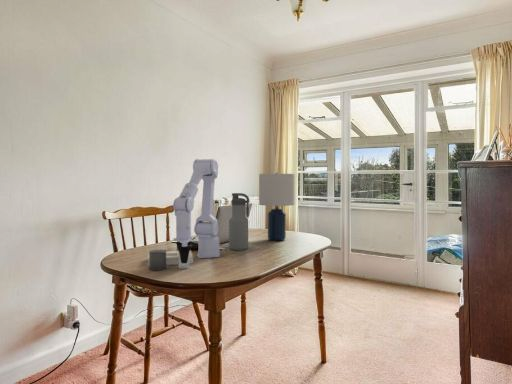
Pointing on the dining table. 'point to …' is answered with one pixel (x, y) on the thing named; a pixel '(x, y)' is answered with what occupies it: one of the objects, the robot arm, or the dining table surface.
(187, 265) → the square peg
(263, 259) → the dining table surface
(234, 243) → the water bottle
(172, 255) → the bore plate
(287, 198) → the lamp
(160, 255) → the round peg
